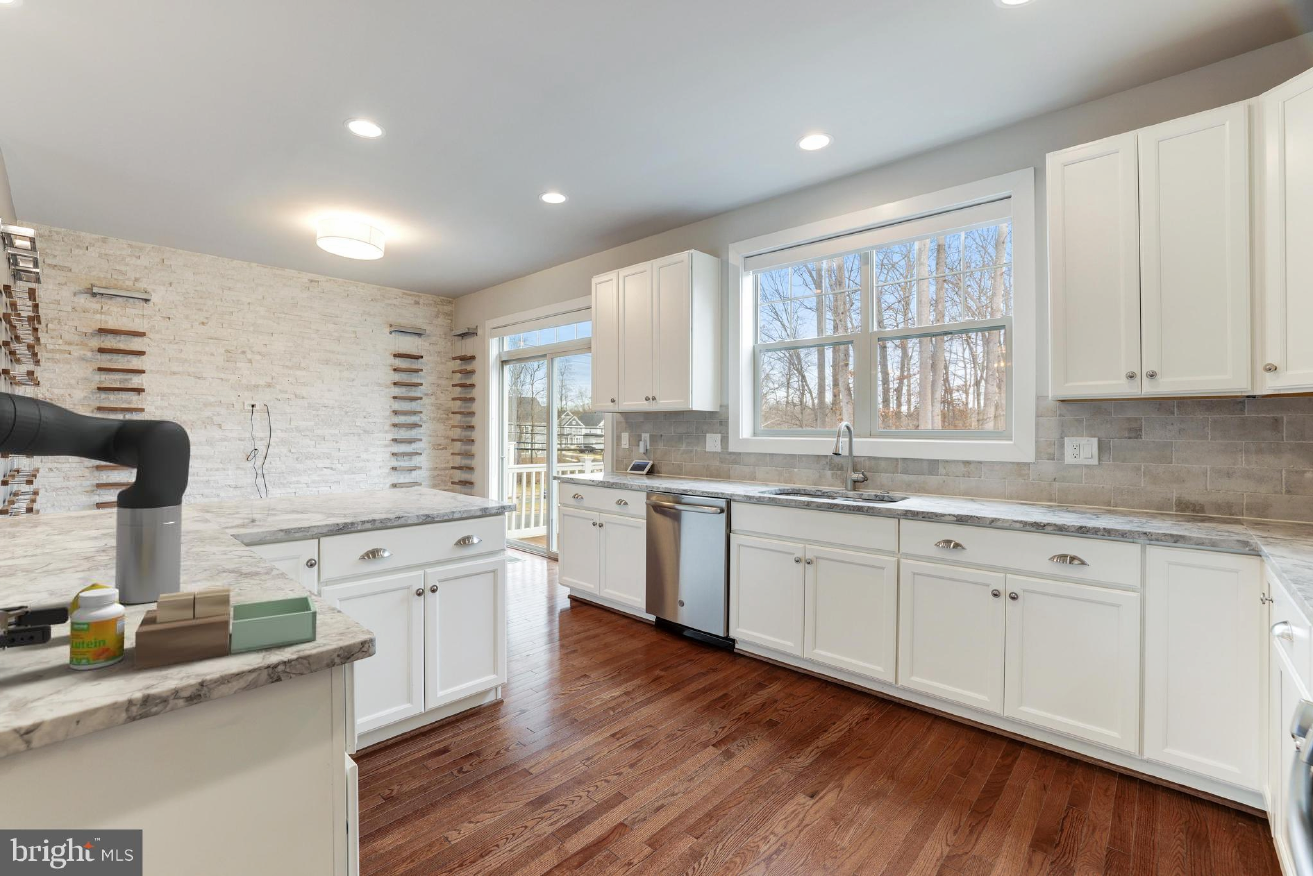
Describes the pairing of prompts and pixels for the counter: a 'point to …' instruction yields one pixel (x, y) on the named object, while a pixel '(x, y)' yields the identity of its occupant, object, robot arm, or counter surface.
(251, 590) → the counter surface
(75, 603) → the lemon
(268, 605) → the tray
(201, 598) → the maple block
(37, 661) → the counter surface
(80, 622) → the supplement bottle
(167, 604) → the maple block
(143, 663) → the walnut block
